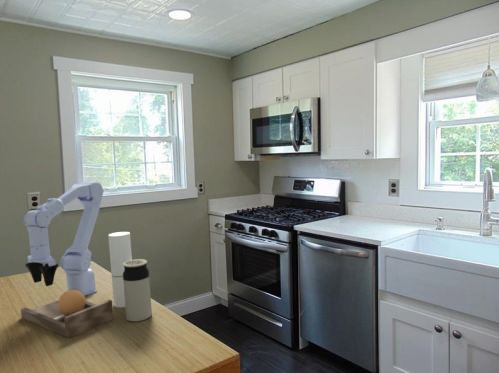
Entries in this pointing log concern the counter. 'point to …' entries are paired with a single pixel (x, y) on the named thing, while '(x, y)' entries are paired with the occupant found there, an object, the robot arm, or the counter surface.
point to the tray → (69, 317)
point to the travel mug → (137, 290)
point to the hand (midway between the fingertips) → (43, 283)
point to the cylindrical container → (119, 263)
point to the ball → (71, 302)
